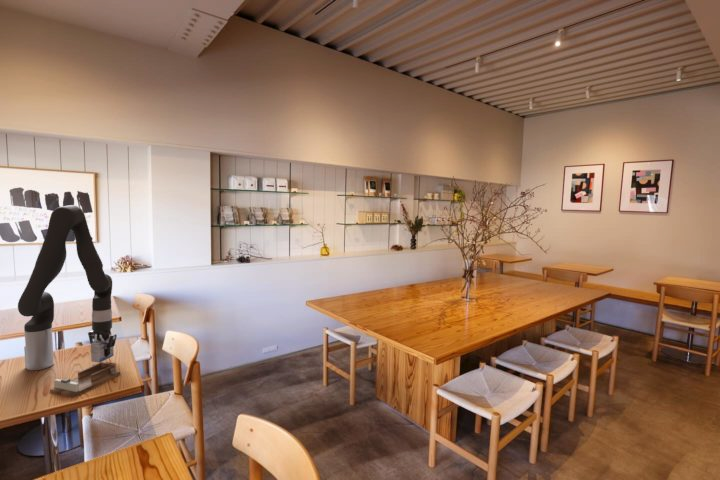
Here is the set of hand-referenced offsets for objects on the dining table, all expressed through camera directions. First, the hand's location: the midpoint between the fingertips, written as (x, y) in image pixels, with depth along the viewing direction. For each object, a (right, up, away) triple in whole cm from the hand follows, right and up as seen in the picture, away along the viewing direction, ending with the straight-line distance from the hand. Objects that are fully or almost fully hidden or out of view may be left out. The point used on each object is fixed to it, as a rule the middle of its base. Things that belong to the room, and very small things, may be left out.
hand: (102, 354), depth 170 cm
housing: (+5, -6, -17) cm, 19 cm away
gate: (+3, -6, -25) cm, 26 cm away
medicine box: (0, -2, 0) cm, 2 cm away
